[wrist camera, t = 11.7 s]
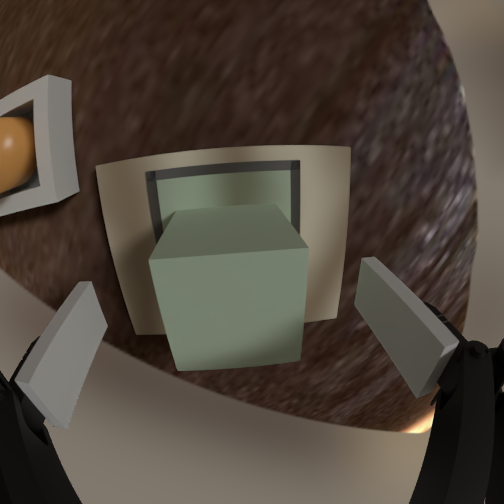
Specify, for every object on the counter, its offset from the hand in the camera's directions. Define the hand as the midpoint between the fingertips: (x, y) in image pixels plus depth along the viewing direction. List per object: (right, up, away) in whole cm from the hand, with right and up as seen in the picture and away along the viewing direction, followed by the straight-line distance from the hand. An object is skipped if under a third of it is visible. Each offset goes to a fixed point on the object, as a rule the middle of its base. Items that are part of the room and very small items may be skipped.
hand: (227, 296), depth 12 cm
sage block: (0, +2, +5) cm, 6 cm away
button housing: (-15, +9, +1) cm, 18 cm away
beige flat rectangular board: (0, +2, +6) cm, 6 cm away
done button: (-15, +9, -1) cm, 17 cm away
